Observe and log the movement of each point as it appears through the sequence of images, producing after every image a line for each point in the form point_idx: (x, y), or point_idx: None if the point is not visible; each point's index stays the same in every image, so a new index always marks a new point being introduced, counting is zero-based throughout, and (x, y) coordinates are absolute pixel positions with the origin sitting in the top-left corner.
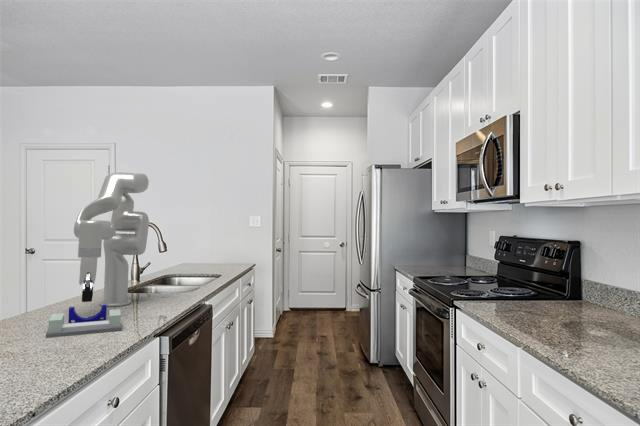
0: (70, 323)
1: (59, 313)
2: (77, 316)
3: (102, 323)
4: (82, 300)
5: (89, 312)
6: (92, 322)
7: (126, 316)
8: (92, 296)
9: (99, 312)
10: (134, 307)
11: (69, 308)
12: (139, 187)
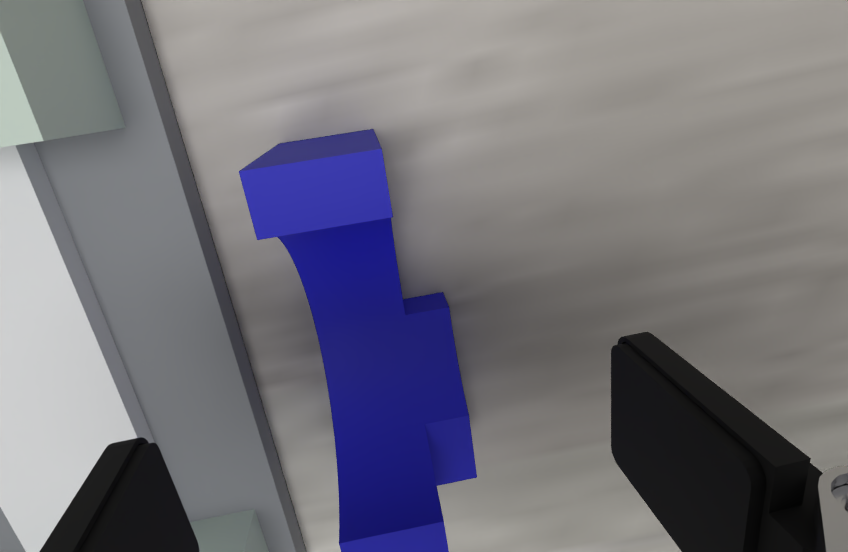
0: (44, 224)
1: (10, 70)
2: (300, 249)
3: (37, 521)
4: (107, 463)
5: (802, 230)
6: (84, 431)
7: (514, 548)
8: (626, 464)
9: (388, 450)
10: None
11: (262, 174)
12: None
